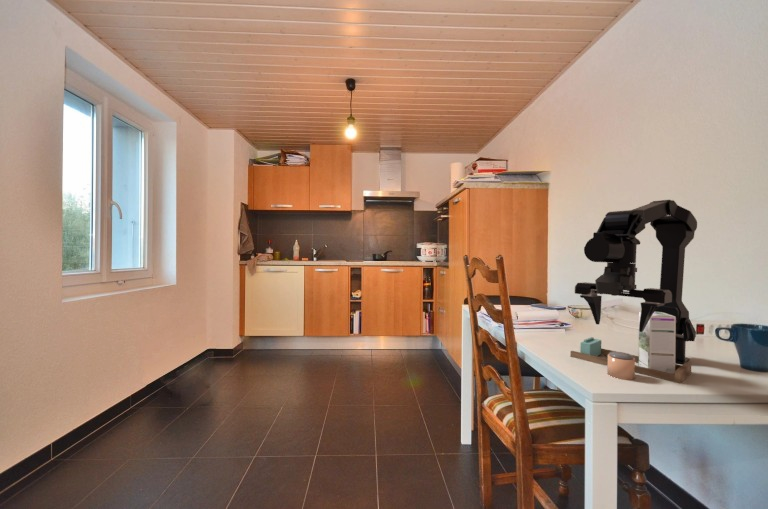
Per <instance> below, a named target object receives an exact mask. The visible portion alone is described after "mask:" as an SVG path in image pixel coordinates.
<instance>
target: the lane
mask: <svg viewBox="0 0 768 509" xmlns="http://www.w3.org/2000/svg"><path fill="white" fill-rule="evenodd" d="M609 352H617V351H616V350H612V349H611V350H610V349H605V348H602V347H601V354H600V355H601V356H606V357H608V354H609ZM569 355H570V357H571V358H576V359H579V360H582V361H583V360H584V361H588V362H591V363H594V364H595V363H596V364H599V365H603V366H607V364H608V358H606V357H601V356H593V355H589V354H584V353H580V351H575V350H570V354H569ZM632 355H633V357H634V358H635V363H638V359H639V355H634V354H632ZM635 373H636V374H640V375H646V376H649V377H653V378H658V379H660V380H661V379H662V380H665V381H669V382H673V383H676V384H681V383H682V382H684V381H685V379H687V378H688V377H689V376H690V375H691V374H692V362H688V361H687V362H686V363H685V364H682V365H681V364H679V363H675V374H671V373H667V372H663V371H658V370H654V369H650V368H645V367H641V366H638V365H635Z"/></svg>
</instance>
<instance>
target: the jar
mask: <svg viewBox="0 0 768 509" xmlns="http://www.w3.org/2000/svg"><path fill="white" fill-rule="evenodd" d="M633 355H634V354H631V353H627V352H622V351H616V352H609V354H608V356H607V359H608V364H607V365H606V366H607V368H606V369H607V373H606V374H607V375H608V376H609V375H610V376H609V377H611V376H612V378H614V377H615V378H614V379H617V378H618V380H624V381H633V380H635V379H636V378H635V373H636V372H635V364H636V362H635V358H634V357H633Z"/></svg>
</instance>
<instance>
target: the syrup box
mask: <svg viewBox="0 0 768 509" xmlns="http://www.w3.org/2000/svg"><path fill="white" fill-rule="evenodd" d="M640 317H641V311H639V312H638V325H639V324H640ZM675 346H676V317H675V316H672V315H669V314H666V313H663V312H654V313H653V314H652V316H651V318H650V319H649V321H648V323H647V325H646V327H645V329H644V331H643V332H640V331H639V330H638V356H639V359H638V362H637V363H638V364H637V366H641V367H645V368H650V369H654V370H658V371H663V372H667V373H671V374H675V364H676V362H675Z"/></svg>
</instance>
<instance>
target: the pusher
mask: <svg viewBox="0 0 768 509" xmlns="http://www.w3.org/2000/svg"><path fill="white" fill-rule="evenodd" d="M601 348H602V339H598V338H594V337H592V336H590V337H588V338H585V339H583V341H582V342H580V348H579V349H580V351H579V352H580V353H584V354H589V355H593V356H597V357H599V356H600V355H602V354H601Z"/></svg>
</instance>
